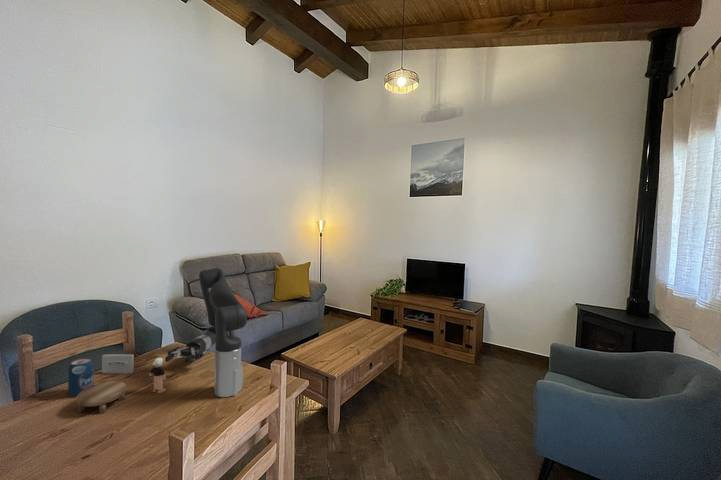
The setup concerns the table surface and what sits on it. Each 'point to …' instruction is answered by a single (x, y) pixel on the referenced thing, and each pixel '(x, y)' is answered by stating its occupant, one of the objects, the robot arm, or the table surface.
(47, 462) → the table surface
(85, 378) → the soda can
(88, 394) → the beige footstool
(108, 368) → the cassette
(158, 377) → the grandmother figurine
